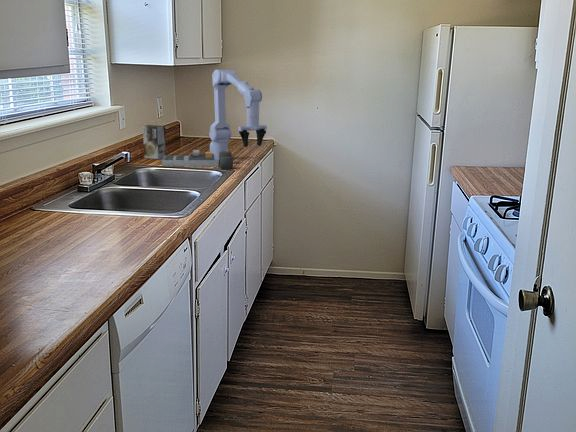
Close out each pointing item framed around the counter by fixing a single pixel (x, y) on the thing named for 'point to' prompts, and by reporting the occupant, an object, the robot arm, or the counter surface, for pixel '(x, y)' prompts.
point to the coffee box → (154, 141)
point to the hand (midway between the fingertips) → (252, 146)
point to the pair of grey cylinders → (226, 160)
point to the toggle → (208, 154)
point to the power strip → (191, 160)
